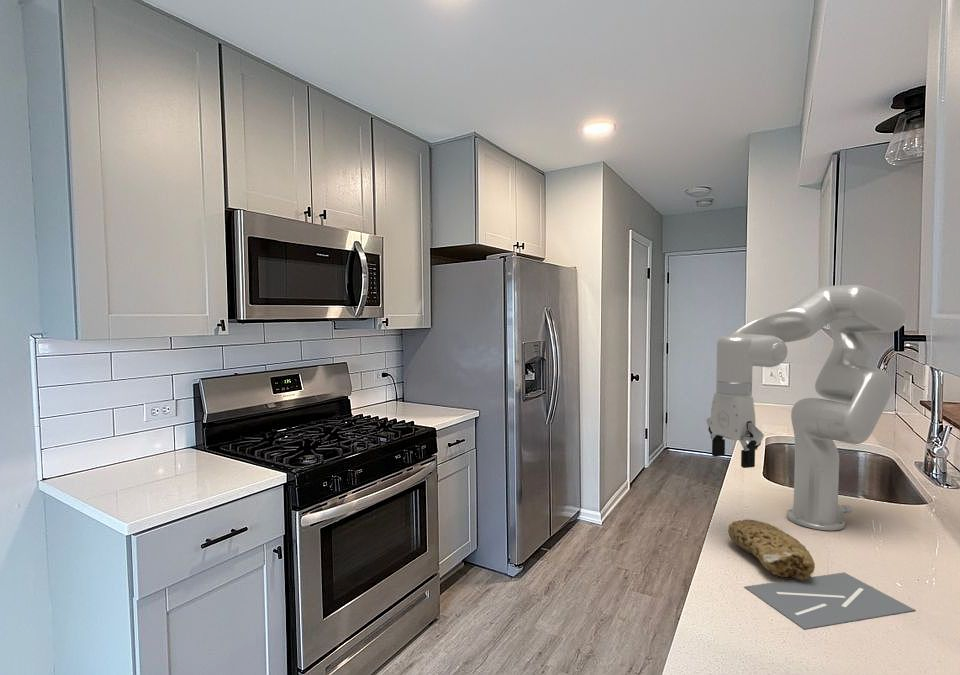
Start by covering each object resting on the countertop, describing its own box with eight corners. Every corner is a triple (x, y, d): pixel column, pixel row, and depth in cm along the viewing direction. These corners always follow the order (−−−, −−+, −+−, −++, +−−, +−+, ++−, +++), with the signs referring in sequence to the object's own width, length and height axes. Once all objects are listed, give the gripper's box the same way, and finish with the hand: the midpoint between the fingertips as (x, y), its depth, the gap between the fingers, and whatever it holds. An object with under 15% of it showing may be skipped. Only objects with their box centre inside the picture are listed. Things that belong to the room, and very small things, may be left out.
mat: (844, 573, 107) (844, 572, 107) (915, 610, 93) (915, 609, 93) (744, 587, 101) (744, 586, 101) (804, 629, 88) (804, 628, 88)
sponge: (823, 590, 102) (785, 529, 121) (819, 555, 101) (781, 499, 120) (751, 594, 105) (725, 534, 124) (746, 560, 104) (720, 505, 123)
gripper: (696, 384, 129) (695, 452, 130) (747, 395, 112) (746, 473, 113) (722, 383, 131) (720, 450, 131) (776, 393, 114) (774, 470, 115)
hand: (732, 461), depth 122 cm, fingers open, 9 cm apart
